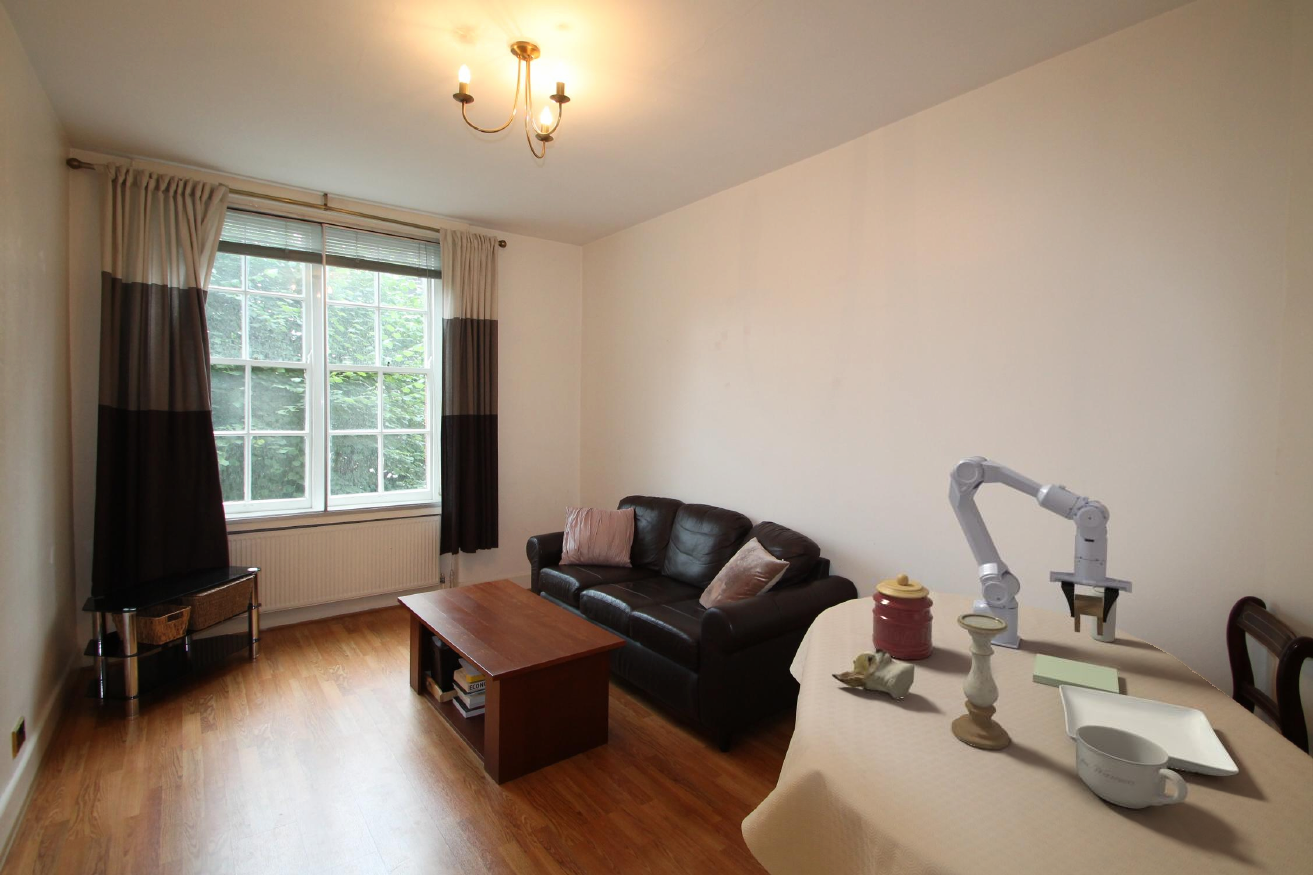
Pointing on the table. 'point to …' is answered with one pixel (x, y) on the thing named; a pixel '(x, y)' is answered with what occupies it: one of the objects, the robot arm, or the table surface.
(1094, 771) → the teacup
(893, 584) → the canister
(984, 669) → the candle holder
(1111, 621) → the beverage can
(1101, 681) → the sage green board
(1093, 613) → the walnut stool
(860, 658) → the ceramic sculpture
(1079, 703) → the salad plate
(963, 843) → the table surface
